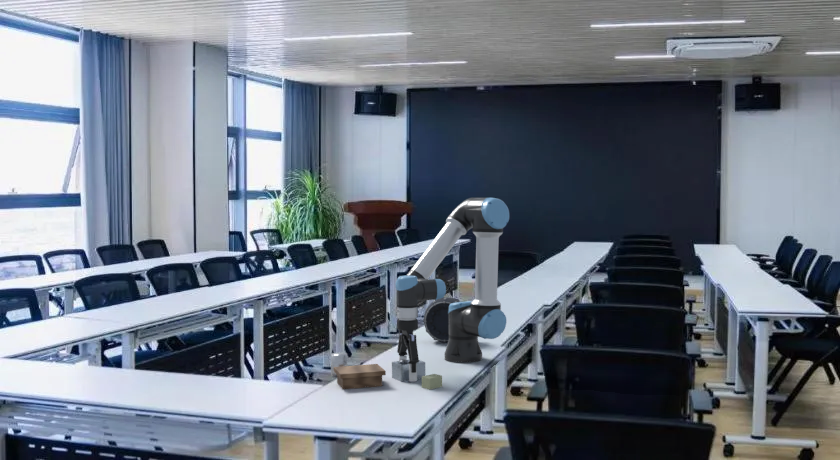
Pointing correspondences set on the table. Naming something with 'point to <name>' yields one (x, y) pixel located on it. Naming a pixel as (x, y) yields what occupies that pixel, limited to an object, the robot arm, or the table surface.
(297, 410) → the table surface
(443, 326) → the dark grey drum
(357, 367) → the walnut stand
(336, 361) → the grey metal can
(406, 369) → the housing
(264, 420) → the table surface
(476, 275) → the robot arm
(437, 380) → the olive painted block
